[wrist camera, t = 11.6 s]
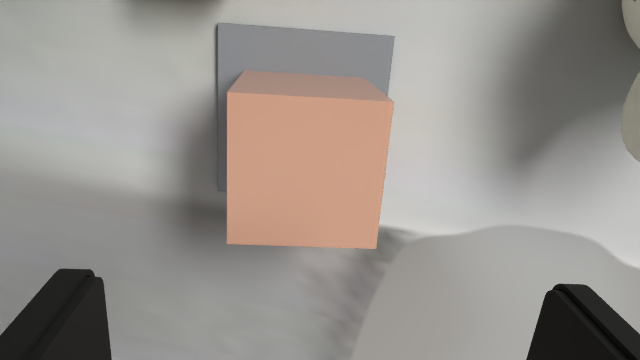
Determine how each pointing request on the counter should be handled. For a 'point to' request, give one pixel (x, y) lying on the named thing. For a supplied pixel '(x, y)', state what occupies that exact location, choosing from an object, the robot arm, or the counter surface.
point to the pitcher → (636, 113)
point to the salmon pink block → (305, 160)
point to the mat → (294, 62)
